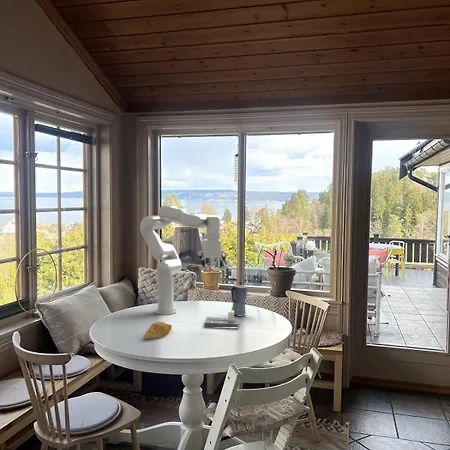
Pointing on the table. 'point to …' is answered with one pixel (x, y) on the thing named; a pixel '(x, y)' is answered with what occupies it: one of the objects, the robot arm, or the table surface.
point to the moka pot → (239, 298)
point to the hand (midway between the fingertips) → (212, 267)
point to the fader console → (220, 322)
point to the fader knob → (231, 315)
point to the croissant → (157, 330)
